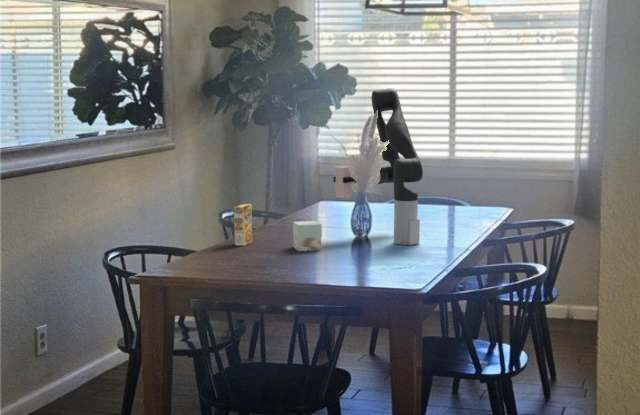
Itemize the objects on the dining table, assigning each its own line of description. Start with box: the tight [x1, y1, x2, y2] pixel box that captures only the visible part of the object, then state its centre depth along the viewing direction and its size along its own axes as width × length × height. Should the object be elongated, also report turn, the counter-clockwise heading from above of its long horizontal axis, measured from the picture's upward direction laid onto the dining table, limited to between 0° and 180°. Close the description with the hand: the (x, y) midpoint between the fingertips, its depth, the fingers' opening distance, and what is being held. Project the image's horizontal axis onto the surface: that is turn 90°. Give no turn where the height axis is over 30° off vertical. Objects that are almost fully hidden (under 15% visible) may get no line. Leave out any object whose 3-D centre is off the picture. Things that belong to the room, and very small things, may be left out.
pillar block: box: [334, 166, 352, 199], centre depth 381 cm, size 4×4×12 cm
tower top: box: [292, 220, 323, 238], centre depth 363 cm, size 9×9×5 cm
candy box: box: [233, 203, 253, 247], centre depth 372 cm, size 9×4×15 cm, turn 163°
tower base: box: [292, 234, 322, 252], centre depth 363 cm, size 9×9×5 cm
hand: (338, 179), depth 379 cm, fingers closed on pillar block, 4 cm apart
